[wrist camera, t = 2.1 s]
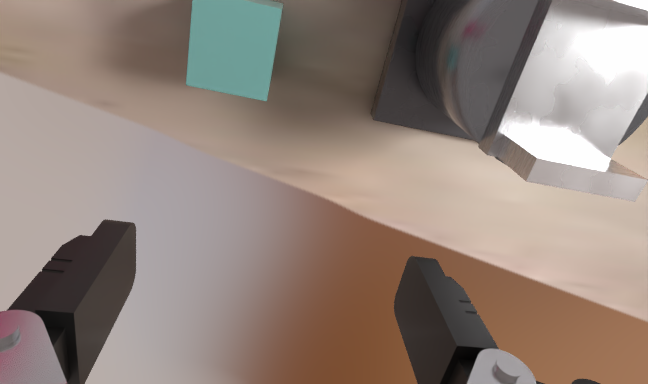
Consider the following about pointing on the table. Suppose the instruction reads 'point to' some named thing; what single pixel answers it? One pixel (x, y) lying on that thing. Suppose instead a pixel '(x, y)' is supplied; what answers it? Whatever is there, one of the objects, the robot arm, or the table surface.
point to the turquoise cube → (233, 46)
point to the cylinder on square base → (525, 83)
